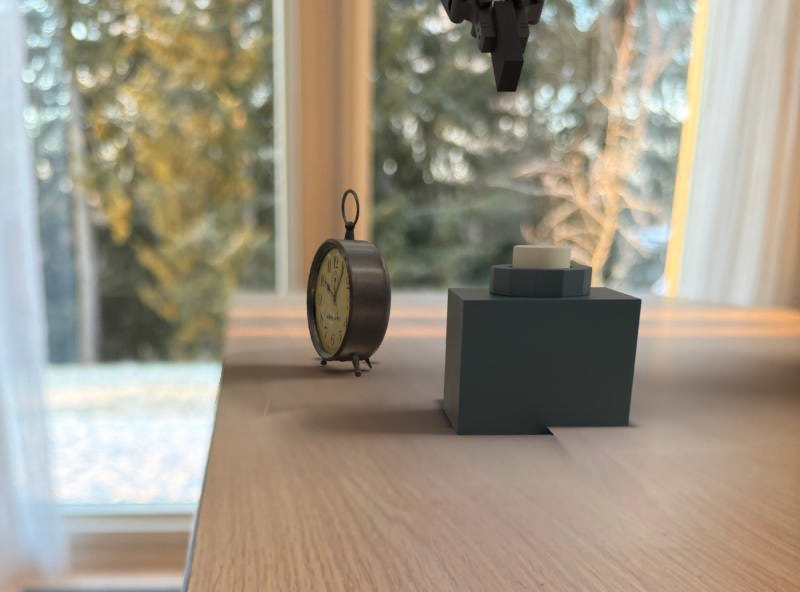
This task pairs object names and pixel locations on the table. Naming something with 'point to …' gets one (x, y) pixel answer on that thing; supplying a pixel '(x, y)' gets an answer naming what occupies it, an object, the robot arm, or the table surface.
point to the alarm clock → (348, 297)
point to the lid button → (541, 256)
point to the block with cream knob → (539, 353)
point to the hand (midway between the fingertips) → (510, 76)
